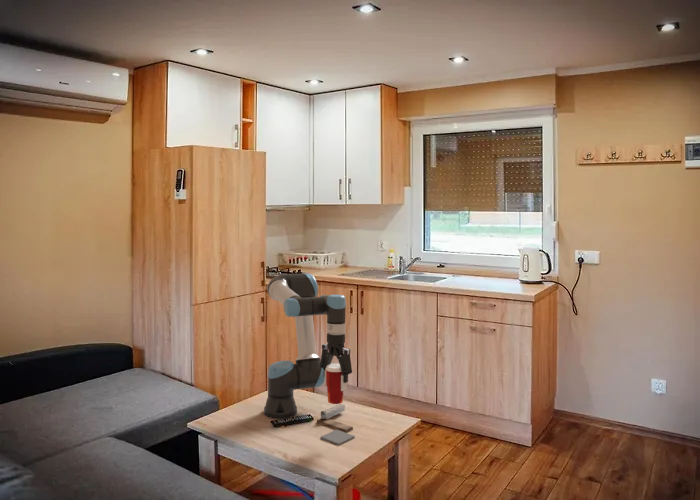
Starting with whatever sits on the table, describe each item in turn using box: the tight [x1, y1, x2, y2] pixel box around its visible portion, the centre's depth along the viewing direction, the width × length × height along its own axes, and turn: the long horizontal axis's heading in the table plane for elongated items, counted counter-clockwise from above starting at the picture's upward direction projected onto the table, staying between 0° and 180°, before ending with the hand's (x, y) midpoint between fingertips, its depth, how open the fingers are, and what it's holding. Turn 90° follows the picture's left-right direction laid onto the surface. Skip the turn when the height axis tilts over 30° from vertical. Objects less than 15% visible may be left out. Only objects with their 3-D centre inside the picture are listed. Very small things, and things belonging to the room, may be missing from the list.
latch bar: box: [320, 403, 346, 419], centre depth 260 cm, size 15×3×3 cm, turn 144°
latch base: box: [316, 417, 354, 434], centre depth 251 cm, size 17×4×1 cm, turn 51°
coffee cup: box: [326, 362, 344, 405], centre depth 236 cm, size 8×8×15 cm
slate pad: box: [320, 429, 355, 446], centre depth 238 cm, size 10×10×1 cm
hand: (335, 387), depth 236 cm, fingers closed on coffee cup, 8 cm apart
